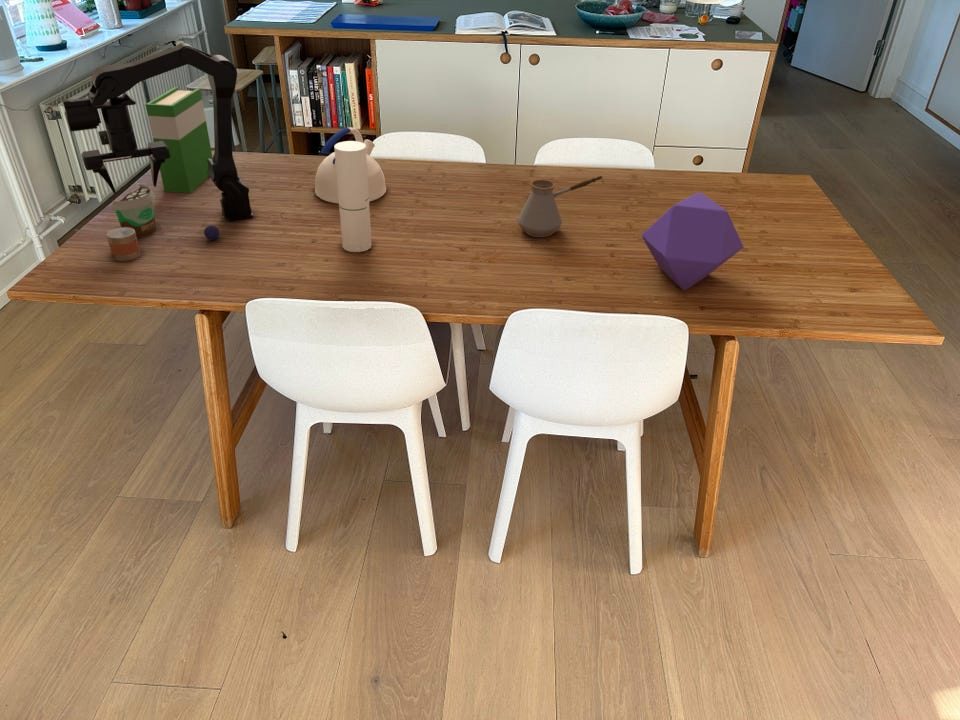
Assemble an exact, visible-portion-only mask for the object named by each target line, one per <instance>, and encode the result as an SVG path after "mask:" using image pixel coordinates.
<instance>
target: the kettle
mask: <svg viewBox="0 0 960 720" xmlns="http://www.w3.org/2000/svg"><path fill="white" fill-rule="evenodd" d="M349 133H352V134H353V136H354V139H355V141H357V142H362V143H364V144H365V145H366V157H367V174H368V192H369V203H370V202H373V201H376V200H378V199H380V198H382V197H383V196H384V195H385V193H386V192H387V187H386V180H385V179H386V178H385V174H384V172H383V170H382V167H381V166H380V164H379V163H378V162H377V161H376V160H375V158H373V157H372V156H371V154H372V151H373V150H374V148H375V147H376V145H375V143H374V142H373V141H372V140H370V139H368V138H367V139H364V138H363V136H362V134H361V132H360V131H359V130H358V129H357V128H354V127H343V128H342V129H340V130H339V131H337V132H336V133H334V134H333V135H332V136H331V137H329V139H328V140H327V141H326V142H325V144H324V145H323V147H322V148H321V151H320V154H321V155H328V154H329V152H330V150H331V149H332V148H333V146H335V144H336V143H337V142H338V141H339V140H340V139H341V138H342V137H344V136H345V135H348V134H349ZM314 193H315V195H316V196H317V197H318V198H319V199H320V200H323V201H325V202H327V203H331V204H336V205H339V198H338V186H337V174H336V161H335V151H334V152H331V153H330V154H329V155H328V156H327V157H325V158H324V159H323V160H322V161H321V163H320V164H319V166H318V167H317V170H316V173H315V177H314Z"/></svg>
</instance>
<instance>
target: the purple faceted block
mask: <svg viewBox="0 0 960 720" xmlns="http://www.w3.org/2000/svg"><path fill="white" fill-rule="evenodd" d="M641 238H642V240H643V241H644V244H645V245H646V246H647V248H648V250H649V252H650V254H651V255H652V257H653V259H654V261H655V262H656V264H657V267H658V268H659V269H660V270H661V271H662V272H663V273H664V274H665V275H666V276H667V277H668V278H669V279H671V280H672V281H673V282H674V283H675V284H676V285H677V286H678V287H680V289H681V290H682V291H686V290H688V289H690V288H691V287H692V286H694V285H696V284H697V283H698V282H700V281H702V280H704V278H706V277H708V276H709V275H710V274H712V273H713V272H715V271H716V270H717V269H718V268H719V267H721V266H722V265H723V264H725V263H726V262H727V261H728V260H730V259H731V258H733V257H734V256H735V255H736V254H738V253H739V252H740V251H742V250H743V249H744V244H743V242H742V240H741V238H740V236H739V234H738V231H737V229H736V227H735V225H734V223H733V220H732V218H731V216H730V214H729V212H728V210H726V209H725V208H723V207H722V206H721V205H719V204H718V203H717V202H715V201H714V200H713V199H710V198H709V197H708V196H707V195H705V194H704V193H702V192H701V191H698V192H696V193H694V194H693V195H690V196H689V197H686V198H684V199H683V200H681V201H678V202H677V203H675V204H673V205H671V207H670V208H668V210H667V211H665V212H664V213H663V214H662V215H661V216H660V217H658V219H657V220H655V222H654V223H653V224H652V225H651V226H649V228H647V229H646V230H645V231H644V232H643V233H642V234H641Z"/></svg>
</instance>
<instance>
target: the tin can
mask: <svg viewBox="0 0 960 720" xmlns="http://www.w3.org/2000/svg"><path fill="white" fill-rule="evenodd" d="M106 238H107V242H108V246H109V249H110V252H111V255H112V258H113V260H114V261H116V262H129V261H133V260H136V259H138V258H139V257H140V256H141V250H140V246H139V240H138V238H137V237H136V234H135V230H134V229H133V228H129V227H121V226H120V227H116V228H112V229H110V230H108V231H107V233H106Z"/></svg>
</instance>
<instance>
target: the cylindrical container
mask: <svg viewBox="0 0 960 720" xmlns="http://www.w3.org/2000/svg"><path fill="white" fill-rule="evenodd" d="M333 146H334V148H333V149H334V152H335V161H336V174H337V186H338V198H339V204H338V209H339V221H340V222H339V223H340V232H341V233H340V234H341V245H342V249H343V250H345V251H347V252H349V253H361V252H366V251H368V250H370V249H371V248H372V230H371V226H372V225H371V213H370V212H371V211H370V209H371V208H370V202H369V192H368V174H367V157H366V145H365V144H364V142H363V143H362V142H357V141H356V140H345V141H344V140H343V141H340V142H336V143H335V144H334V145H333Z"/></svg>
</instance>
